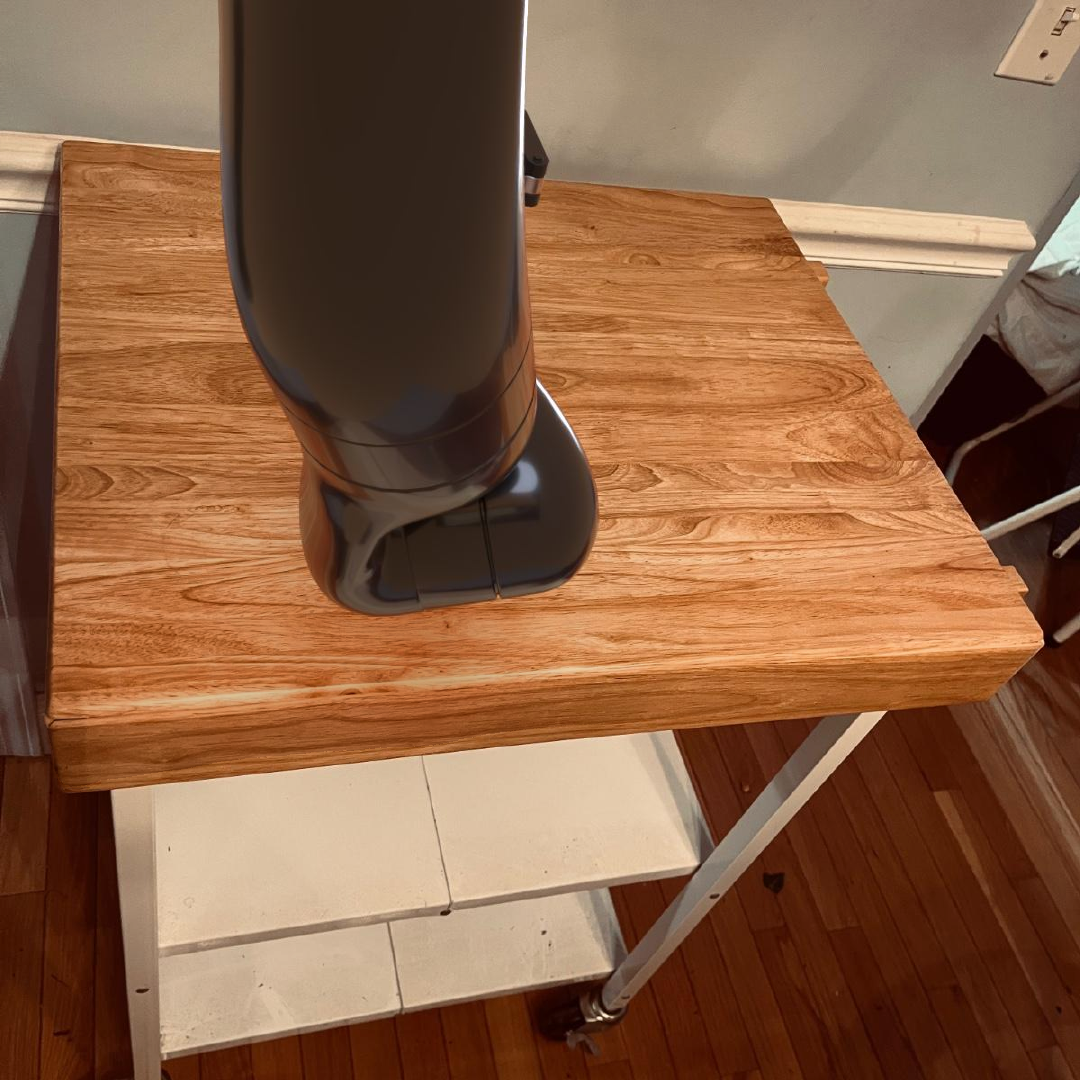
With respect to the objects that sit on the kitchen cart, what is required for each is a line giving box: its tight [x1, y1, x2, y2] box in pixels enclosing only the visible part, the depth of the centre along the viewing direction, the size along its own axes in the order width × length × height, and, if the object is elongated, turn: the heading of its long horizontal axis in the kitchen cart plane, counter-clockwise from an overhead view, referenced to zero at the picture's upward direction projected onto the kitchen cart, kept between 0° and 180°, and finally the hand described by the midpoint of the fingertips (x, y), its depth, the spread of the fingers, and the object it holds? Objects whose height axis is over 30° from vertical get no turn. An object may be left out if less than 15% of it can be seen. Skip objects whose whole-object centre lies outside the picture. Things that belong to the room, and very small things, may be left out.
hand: (402, 69), depth 59 cm, fingers closed on can, 6 cm apart
